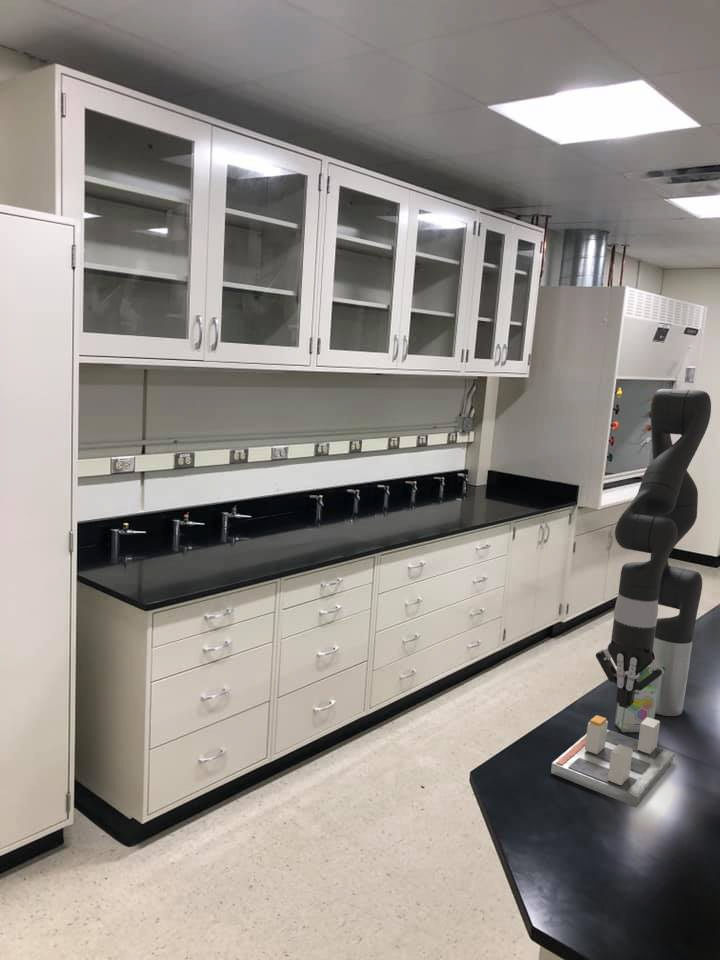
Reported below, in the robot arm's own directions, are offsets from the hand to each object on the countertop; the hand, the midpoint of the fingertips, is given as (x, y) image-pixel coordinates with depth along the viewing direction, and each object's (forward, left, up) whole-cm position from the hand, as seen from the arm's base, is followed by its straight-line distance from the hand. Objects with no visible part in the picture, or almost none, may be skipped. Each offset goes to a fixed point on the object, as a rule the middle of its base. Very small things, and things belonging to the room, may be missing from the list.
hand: (624, 706), depth 146 cm
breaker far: (-8, +3, -10) cm, 13 cm away
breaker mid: (0, -5, -10) cm, 11 cm away
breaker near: (+8, +3, -10) cm, 14 cm away
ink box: (-20, -3, -13) cm, 24 cm away
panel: (0, 0, -13) cm, 13 cm away
